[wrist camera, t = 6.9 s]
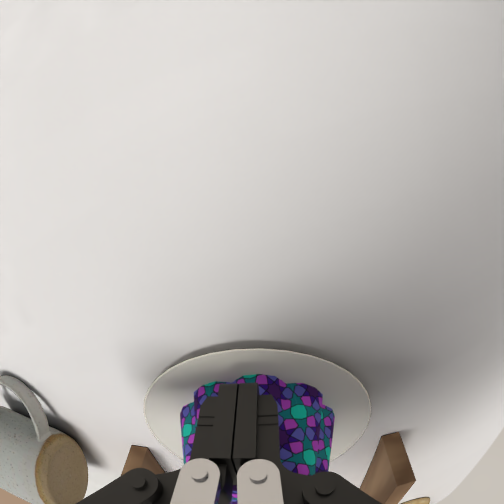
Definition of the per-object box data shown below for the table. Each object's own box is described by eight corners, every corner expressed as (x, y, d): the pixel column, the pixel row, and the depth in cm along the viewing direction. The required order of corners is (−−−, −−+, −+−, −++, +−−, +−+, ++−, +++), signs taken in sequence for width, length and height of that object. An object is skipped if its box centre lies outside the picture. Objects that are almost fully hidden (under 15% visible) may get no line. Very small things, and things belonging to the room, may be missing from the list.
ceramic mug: (103, 467, 18) (77, 535, 11) (35, 443, 18) (6, 497, 11) (48, 381, 14) (-8, 464, 7) (-18, 359, 15) (-69, 416, 7)
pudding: (205, 476, 17) (196, 535, 12) (105, 363, 13) (62, 440, 8) (373, 445, 15) (390, 509, 10) (351, 301, 11) (397, 397, 7)
